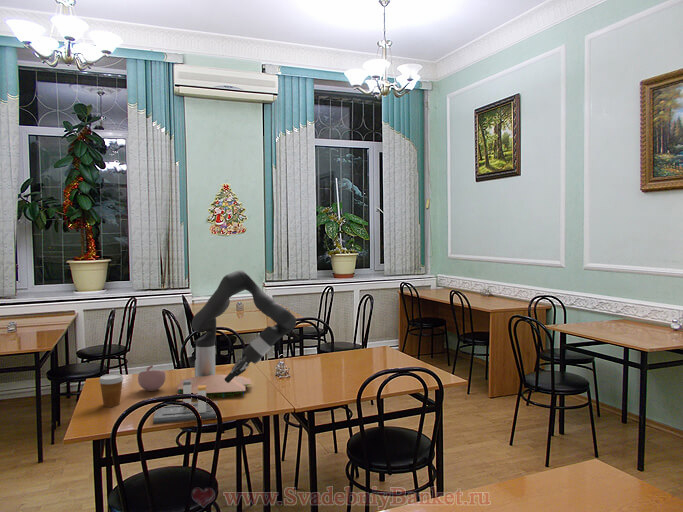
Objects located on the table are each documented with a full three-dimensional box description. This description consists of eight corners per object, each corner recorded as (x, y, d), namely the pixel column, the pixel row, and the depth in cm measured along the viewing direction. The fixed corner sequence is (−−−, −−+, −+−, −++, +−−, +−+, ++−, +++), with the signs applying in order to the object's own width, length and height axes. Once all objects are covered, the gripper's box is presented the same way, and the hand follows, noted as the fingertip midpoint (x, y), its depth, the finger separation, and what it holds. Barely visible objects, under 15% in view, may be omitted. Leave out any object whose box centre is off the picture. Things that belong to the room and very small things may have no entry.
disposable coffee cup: (99, 409, 210) (99, 380, 209) (98, 402, 218) (98, 375, 218) (124, 406, 214) (124, 377, 214) (123, 399, 223) (122, 372, 222)
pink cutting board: (251, 397, 227) (251, 379, 227) (174, 402, 221) (174, 383, 221) (250, 383, 250) (250, 366, 250) (180, 386, 243) (180, 369, 243)
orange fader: (206, 412, 204) (205, 385, 203) (206, 414, 201) (205, 387, 200) (198, 412, 203) (198, 385, 202) (198, 415, 200) (197, 387, 199)
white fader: (191, 406, 211) (191, 379, 210) (191, 408, 208) (190, 381, 207) (183, 406, 210) (183, 380, 210) (183, 409, 207) (183, 382, 207)
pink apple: (166, 385, 244) (165, 361, 243) (165, 392, 232) (165, 368, 232) (139, 387, 240) (138, 363, 240) (137, 395, 229) (136, 370, 228)
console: (153, 423, 194) (153, 418, 194) (157, 410, 209) (157, 405, 209) (217, 418, 200) (217, 412, 200) (217, 405, 215) (217, 400, 215)
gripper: (265, 359, 200) (233, 392, 198) (261, 351, 213) (232, 382, 210) (251, 346, 199) (219, 379, 196) (249, 339, 212) (218, 370, 209)
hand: (226, 381), depth 203 cm, fingers closed
